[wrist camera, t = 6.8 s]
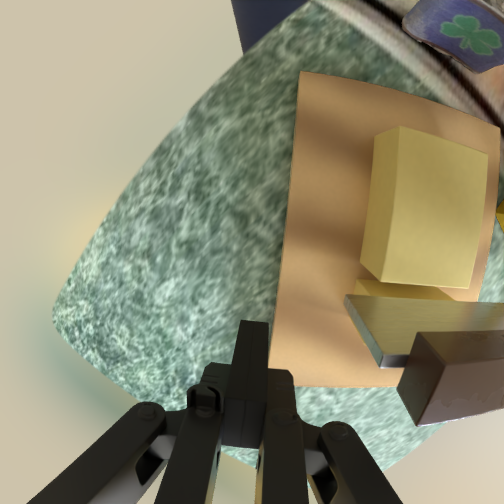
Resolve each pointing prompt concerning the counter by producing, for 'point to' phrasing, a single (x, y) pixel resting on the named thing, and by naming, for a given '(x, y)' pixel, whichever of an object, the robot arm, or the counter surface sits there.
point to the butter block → (424, 209)
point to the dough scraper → (436, 352)
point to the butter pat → (397, 292)
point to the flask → (461, 30)
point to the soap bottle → (500, 215)
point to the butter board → (351, 222)
